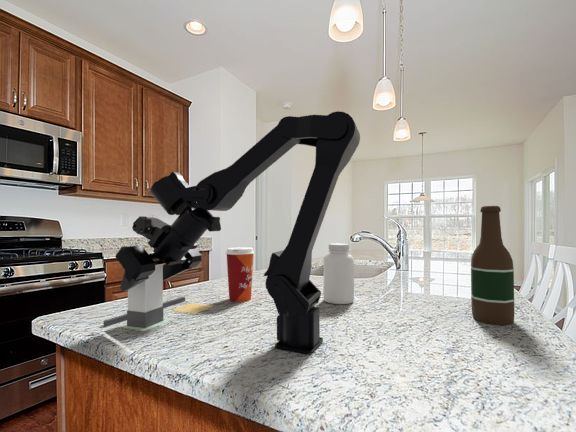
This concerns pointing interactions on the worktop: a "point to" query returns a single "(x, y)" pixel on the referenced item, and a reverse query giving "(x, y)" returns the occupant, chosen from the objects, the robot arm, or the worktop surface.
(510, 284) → the beer bottle
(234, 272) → the paper cup
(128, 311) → the plug
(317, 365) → the worktop surface
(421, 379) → the worktop surface
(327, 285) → the pill bottle
